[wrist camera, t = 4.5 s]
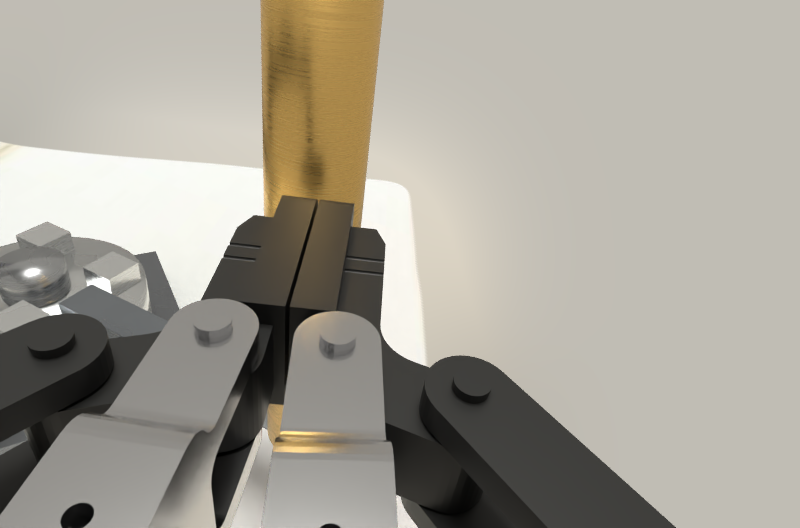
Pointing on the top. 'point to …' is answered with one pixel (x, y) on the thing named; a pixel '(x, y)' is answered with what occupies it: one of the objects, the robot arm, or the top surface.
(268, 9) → the crank handle
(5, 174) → the top surface
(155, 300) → the threaded base
